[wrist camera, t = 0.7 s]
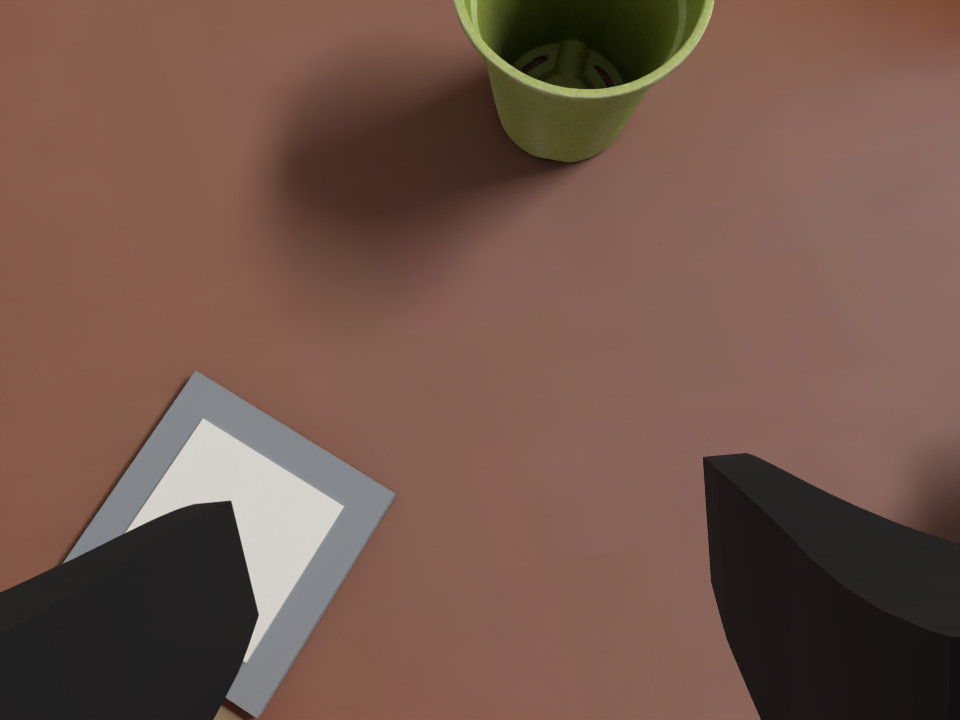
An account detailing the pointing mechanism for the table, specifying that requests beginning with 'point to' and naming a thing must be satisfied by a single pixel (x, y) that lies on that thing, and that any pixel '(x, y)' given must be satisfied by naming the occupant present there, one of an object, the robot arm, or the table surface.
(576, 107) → the plant pot
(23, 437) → the table surface
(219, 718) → the walnut cube
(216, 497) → the mat
